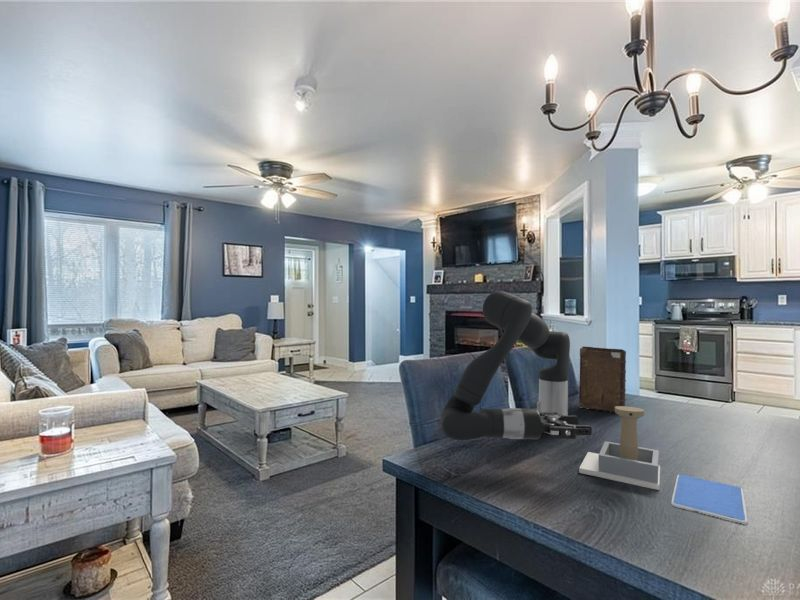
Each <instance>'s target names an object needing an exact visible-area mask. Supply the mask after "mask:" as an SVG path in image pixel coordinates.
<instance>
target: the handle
mask: <svg viewBox="0 0 800 600" xmlns="http://www.w3.org/2000/svg"><path fill="white" fill-rule="evenodd" d="M614 414H617V416H619V417H620V419H621V423H620V424H621V426H620V439H619V440H620V441H619V444H620V456H621V458H626V459H631V460H636V461H637V458H638V447H639V441H638V440H639V439H638V419H640V418H643V417H644V416H645V410H644V408H643V409H642V408H639V407H635V406H626V405H625V406H616V407H615V413H614Z"/></svg>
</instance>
